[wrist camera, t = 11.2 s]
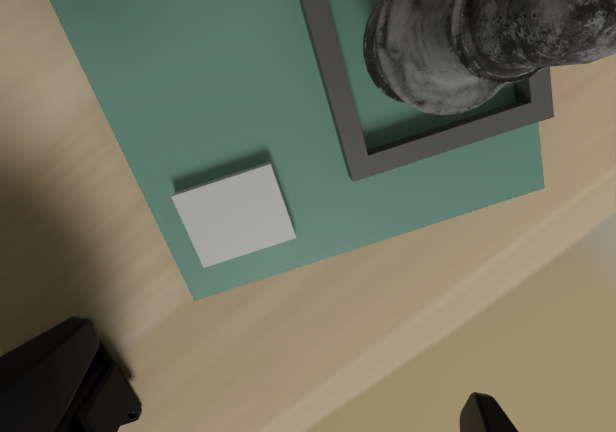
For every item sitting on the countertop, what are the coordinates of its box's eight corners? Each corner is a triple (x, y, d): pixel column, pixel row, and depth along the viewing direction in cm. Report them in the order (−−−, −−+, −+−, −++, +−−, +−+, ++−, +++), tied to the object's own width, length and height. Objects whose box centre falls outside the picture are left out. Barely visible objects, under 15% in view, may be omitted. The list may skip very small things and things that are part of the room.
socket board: (199, 287, 22) (189, 312, 20) (59, -11, 17) (22, -29, 14) (526, 181, 22) (560, 193, 19) (488, -157, 17) (526, -202, 14)
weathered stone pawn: (330, 37, 17) (440, -64, 6) (434, -61, 16) (804, -403, 5) (405, 135, 19) (603, 206, 8) (503, 52, 18) (893, -9, 7)
